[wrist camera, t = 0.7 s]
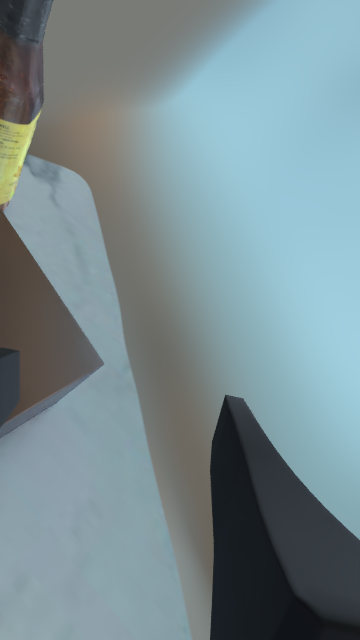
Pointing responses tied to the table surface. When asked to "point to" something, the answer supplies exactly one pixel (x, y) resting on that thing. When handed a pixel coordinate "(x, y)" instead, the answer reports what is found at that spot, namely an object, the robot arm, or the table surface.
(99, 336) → the table surface
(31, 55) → the sauce bottle
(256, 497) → the robot arm
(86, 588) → the table surface
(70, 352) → the cabinet
